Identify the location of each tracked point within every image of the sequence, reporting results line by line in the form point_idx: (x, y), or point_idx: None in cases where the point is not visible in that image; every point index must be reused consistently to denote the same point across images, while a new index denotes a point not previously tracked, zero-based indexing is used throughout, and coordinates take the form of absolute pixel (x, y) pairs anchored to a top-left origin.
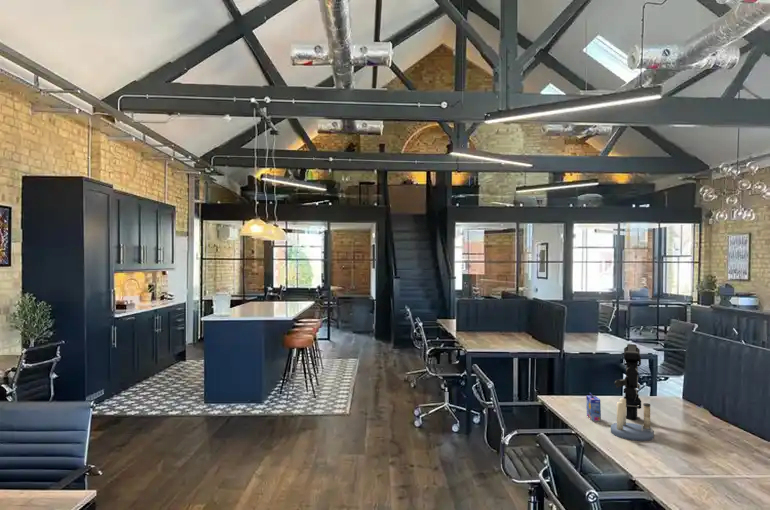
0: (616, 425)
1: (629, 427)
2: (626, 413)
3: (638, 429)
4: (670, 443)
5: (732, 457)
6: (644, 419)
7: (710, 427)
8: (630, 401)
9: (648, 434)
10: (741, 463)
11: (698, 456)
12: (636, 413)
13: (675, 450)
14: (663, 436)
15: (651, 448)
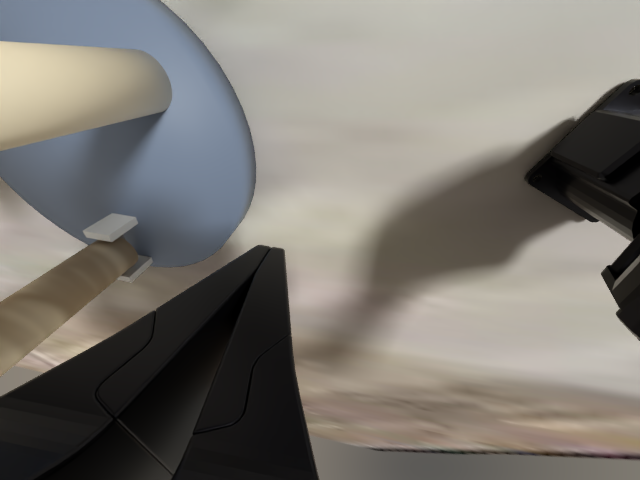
0: (57, 13)
1: (109, 140)
2: (629, 117)
3: (118, 198)
4: (148, 289)
5: None
6: (41, 276)
7: (447, 413)
8: (220, 273)
9: (79, 238)
10: None
11: (91, 328)
12: (593, 216)
13: None
14: None
15: (9, 222)
